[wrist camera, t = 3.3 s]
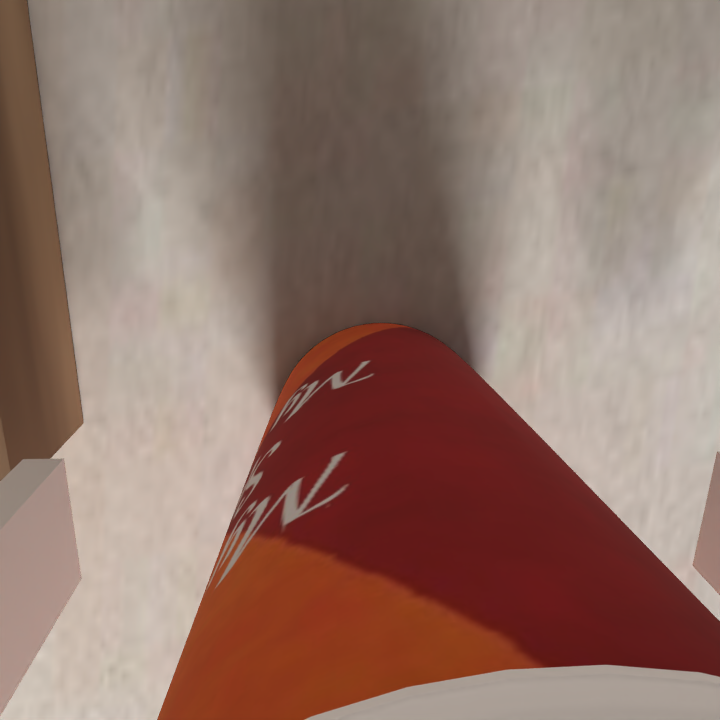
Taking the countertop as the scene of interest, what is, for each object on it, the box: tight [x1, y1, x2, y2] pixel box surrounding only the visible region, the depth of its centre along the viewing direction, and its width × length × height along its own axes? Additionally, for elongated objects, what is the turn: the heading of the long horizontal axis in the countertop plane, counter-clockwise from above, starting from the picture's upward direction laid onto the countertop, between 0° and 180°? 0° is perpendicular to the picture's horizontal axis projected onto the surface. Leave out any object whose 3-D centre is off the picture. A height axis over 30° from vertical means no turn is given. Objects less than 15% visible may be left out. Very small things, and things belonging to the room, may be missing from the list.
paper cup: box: [157, 323, 720, 720], centre depth 10 cm, size 8×8×14 cm
